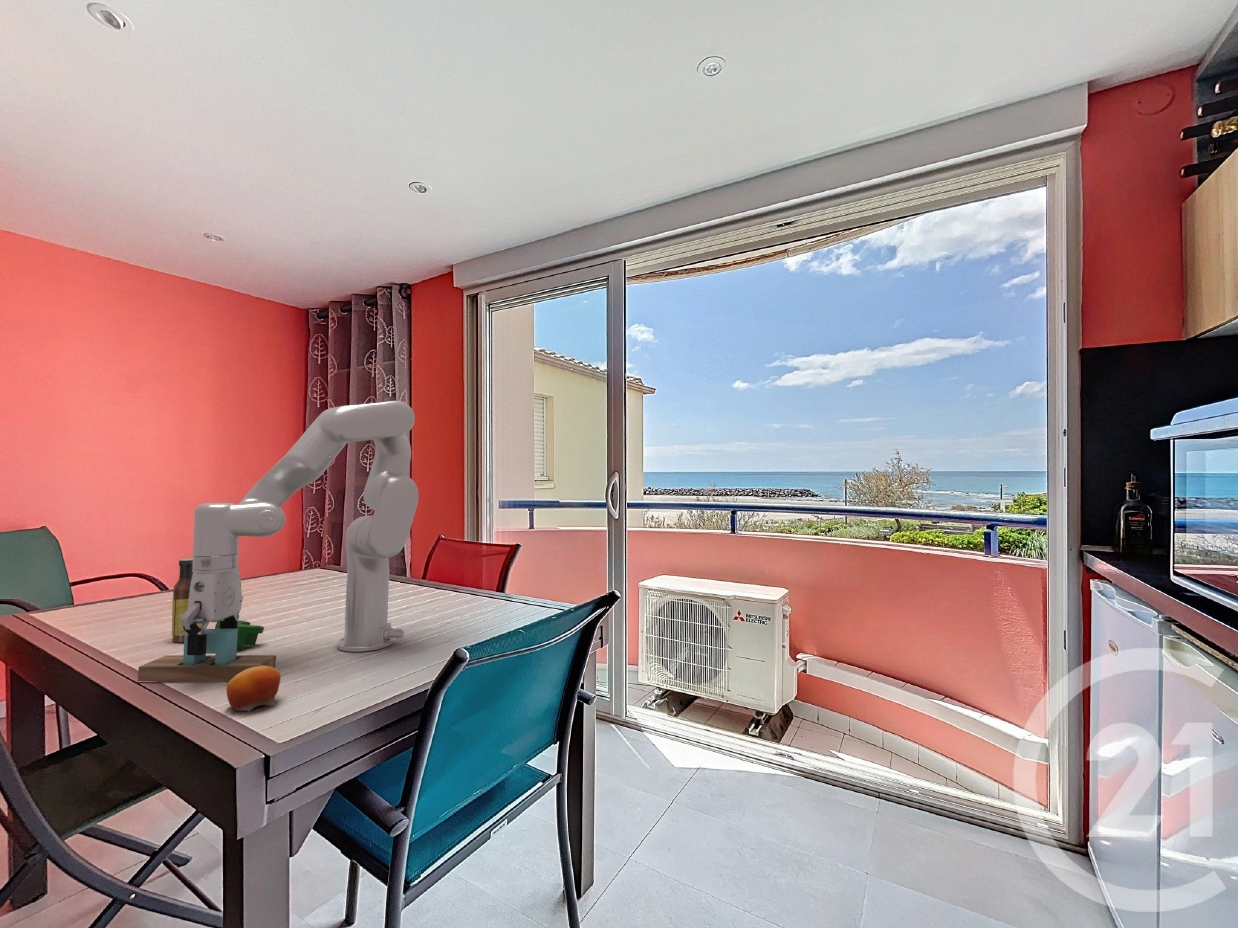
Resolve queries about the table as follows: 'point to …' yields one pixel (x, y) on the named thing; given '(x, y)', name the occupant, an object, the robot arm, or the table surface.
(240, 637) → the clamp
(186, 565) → the sauce bottle
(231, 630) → the clip
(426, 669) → the table surface
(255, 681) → the fruit
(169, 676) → the slotted wooden board
